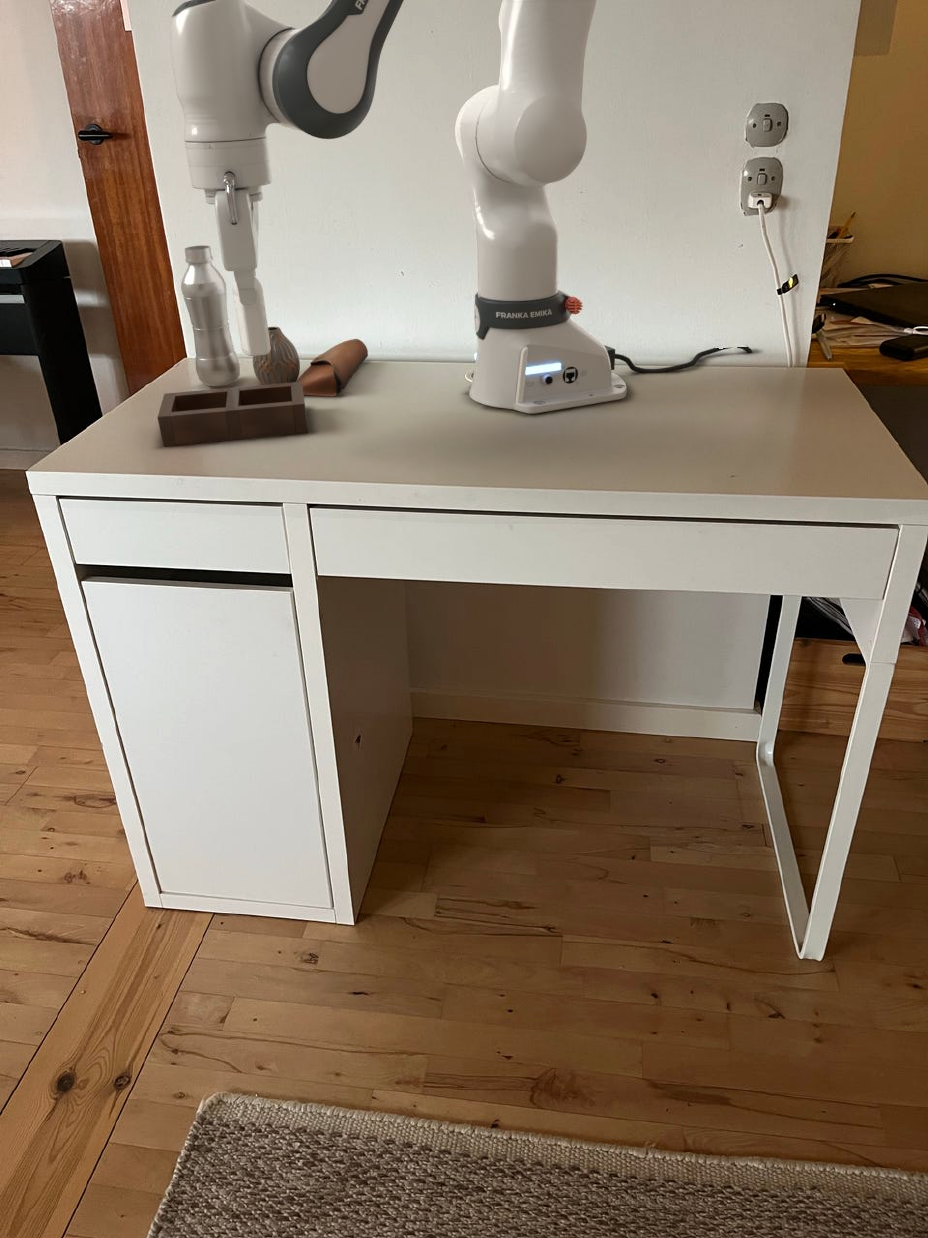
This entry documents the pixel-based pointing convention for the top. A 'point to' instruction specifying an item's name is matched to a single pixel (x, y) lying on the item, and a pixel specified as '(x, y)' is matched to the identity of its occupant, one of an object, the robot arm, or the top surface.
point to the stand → (232, 413)
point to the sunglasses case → (333, 369)
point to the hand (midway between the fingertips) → (248, 296)
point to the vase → (277, 360)
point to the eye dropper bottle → (252, 322)
